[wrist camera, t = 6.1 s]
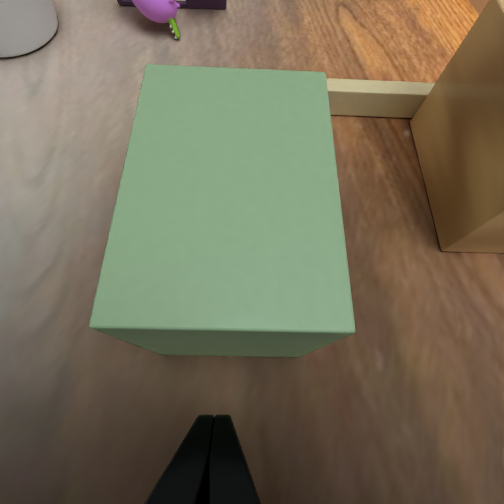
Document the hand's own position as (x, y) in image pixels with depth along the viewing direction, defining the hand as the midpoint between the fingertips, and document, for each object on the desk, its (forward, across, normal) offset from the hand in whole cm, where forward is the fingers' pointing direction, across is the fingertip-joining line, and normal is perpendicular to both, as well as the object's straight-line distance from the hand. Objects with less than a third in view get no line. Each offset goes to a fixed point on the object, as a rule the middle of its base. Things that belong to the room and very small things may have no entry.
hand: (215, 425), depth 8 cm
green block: (+10, 0, 0) cm, 10 cm away
